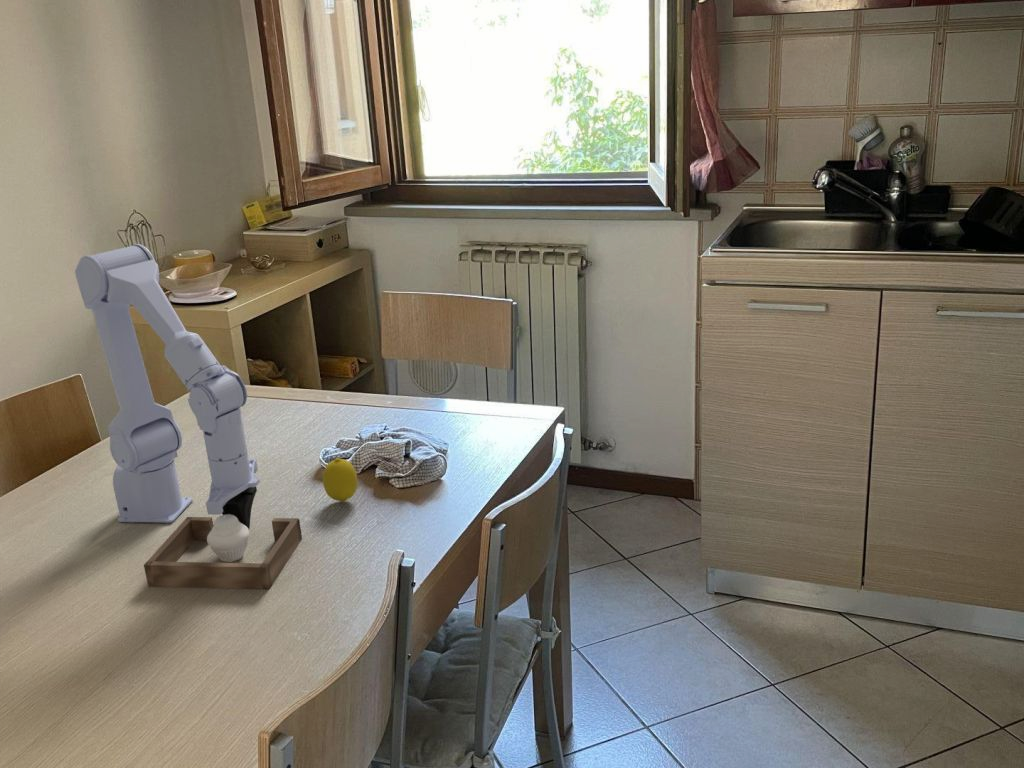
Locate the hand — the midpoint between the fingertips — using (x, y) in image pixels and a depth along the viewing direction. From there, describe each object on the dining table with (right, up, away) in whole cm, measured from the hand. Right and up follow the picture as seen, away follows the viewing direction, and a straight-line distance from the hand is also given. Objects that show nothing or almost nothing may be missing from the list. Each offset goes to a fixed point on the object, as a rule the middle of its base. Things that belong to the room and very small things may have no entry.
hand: (241, 534), depth 143 cm
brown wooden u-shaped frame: (-1, -3, -5) cm, 6 cm away
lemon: (+14, +3, +11) cm, 18 cm away
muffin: (0, -3, -3) cm, 5 cm away
